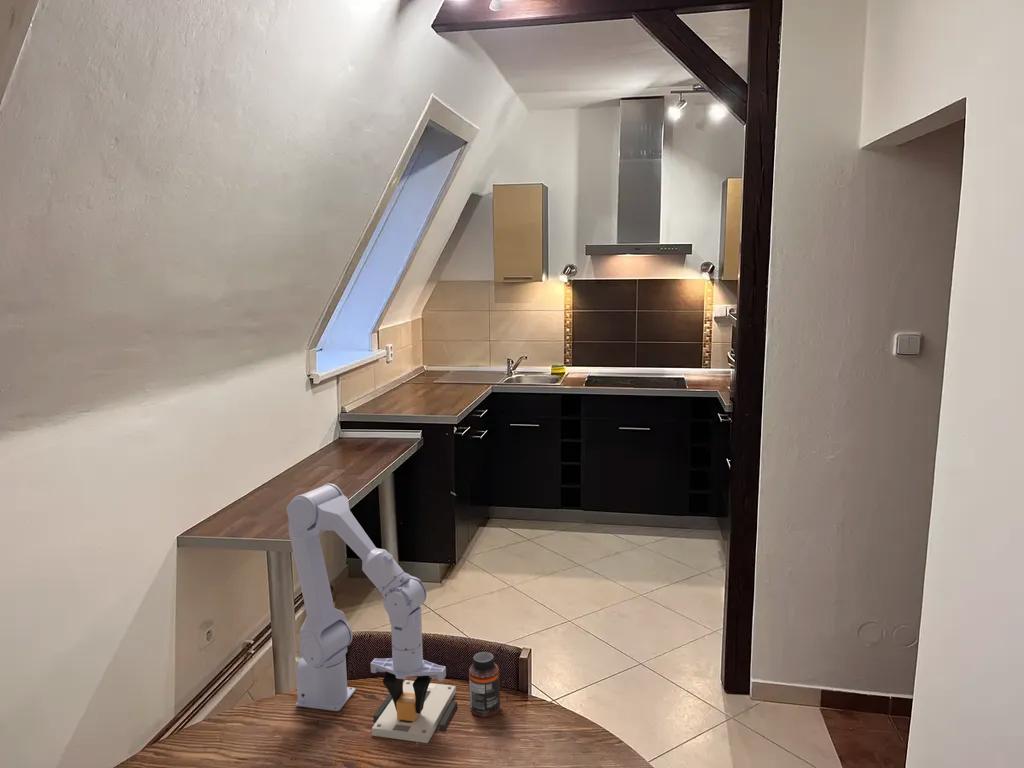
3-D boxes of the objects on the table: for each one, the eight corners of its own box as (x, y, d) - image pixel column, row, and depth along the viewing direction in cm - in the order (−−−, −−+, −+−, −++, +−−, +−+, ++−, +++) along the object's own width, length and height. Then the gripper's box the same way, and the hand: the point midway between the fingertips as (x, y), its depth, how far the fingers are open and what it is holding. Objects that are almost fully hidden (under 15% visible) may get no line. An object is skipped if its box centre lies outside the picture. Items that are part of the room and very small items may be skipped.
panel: (372, 735, 142) (371, 727, 142) (405, 686, 158) (405, 679, 158) (427, 743, 139) (427, 735, 139) (455, 692, 156) (455, 685, 155)
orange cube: (397, 719, 144) (396, 701, 143) (403, 708, 147) (403, 691, 147) (414, 721, 143) (413, 703, 142) (420, 710, 146) (420, 693, 146)
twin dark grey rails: (373, 720, 146) (373, 715, 146) (389, 697, 154) (389, 693, 154) (444, 729, 143) (444, 724, 143) (457, 706, 151) (456, 701, 151)
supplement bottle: (483, 697, 154) (482, 645, 152) (506, 708, 150) (505, 654, 148) (463, 711, 149) (462, 657, 147) (486, 722, 145) (485, 667, 144)
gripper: (362, 649, 141) (365, 716, 143) (436, 657, 138) (438, 726, 140) (377, 631, 148) (380, 696, 150) (448, 639, 144) (450, 704, 147)
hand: (409, 709), depth 145 cm, fingers closed on orange cube, 3 cm apart
